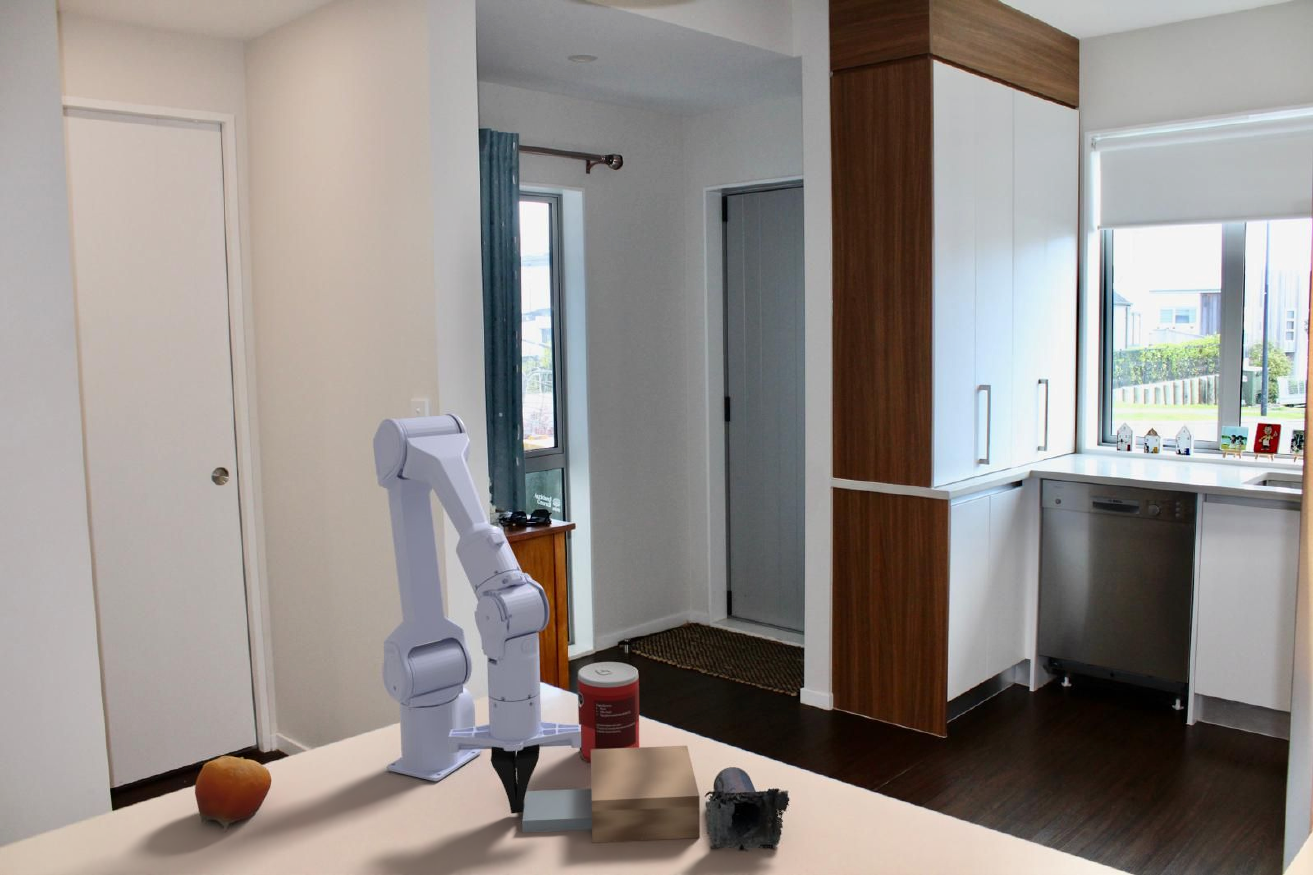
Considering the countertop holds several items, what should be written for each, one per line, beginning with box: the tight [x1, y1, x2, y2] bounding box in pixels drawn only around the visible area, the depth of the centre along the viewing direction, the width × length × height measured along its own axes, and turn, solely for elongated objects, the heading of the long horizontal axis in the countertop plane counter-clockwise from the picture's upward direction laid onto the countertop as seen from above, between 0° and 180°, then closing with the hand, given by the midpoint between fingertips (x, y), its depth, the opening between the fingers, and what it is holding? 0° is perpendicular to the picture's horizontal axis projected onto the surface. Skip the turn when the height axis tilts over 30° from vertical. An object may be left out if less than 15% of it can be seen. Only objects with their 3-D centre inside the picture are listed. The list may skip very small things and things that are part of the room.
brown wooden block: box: [590, 745, 701, 844], centre depth 114 cm, size 12×13×5 cm
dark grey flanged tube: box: [704, 766, 790, 852], centre depth 111 cm, size 9×8×12 cm
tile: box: [521, 788, 592, 833], centre depth 114 cm, size 13×7×2 cm, turn 94°
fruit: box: [194, 755, 272, 833], centre depth 114 cm, size 8×8×8 cm
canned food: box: [577, 661, 640, 764], centre depth 129 cm, size 8×8×11 cm
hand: (517, 809), depth 113 cm, fingers closed
